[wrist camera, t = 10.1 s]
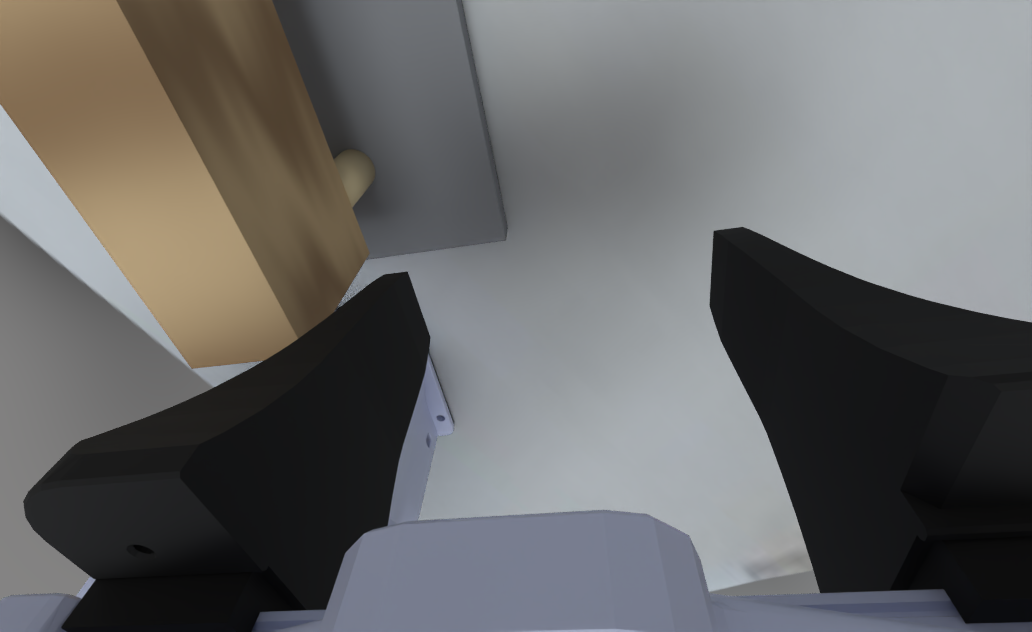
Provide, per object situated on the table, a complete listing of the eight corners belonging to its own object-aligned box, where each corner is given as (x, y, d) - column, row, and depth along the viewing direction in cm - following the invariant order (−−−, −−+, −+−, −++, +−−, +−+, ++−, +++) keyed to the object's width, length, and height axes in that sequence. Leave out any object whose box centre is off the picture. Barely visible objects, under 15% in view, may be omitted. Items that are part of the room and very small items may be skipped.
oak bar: (369, 253, 19) (307, 355, 14) (281, 265, 19) (191, 368, 14) (150, -313, 11) (-175, -539, 6) (12, -266, 11) (-393, -440, 6)
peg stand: (507, 228, 22) (500, 275, 19) (245, 265, 24) (196, 314, 21) (373, -433, 12) (307, -586, 9) (-59, -284, 14) (-252, -363, 11)
